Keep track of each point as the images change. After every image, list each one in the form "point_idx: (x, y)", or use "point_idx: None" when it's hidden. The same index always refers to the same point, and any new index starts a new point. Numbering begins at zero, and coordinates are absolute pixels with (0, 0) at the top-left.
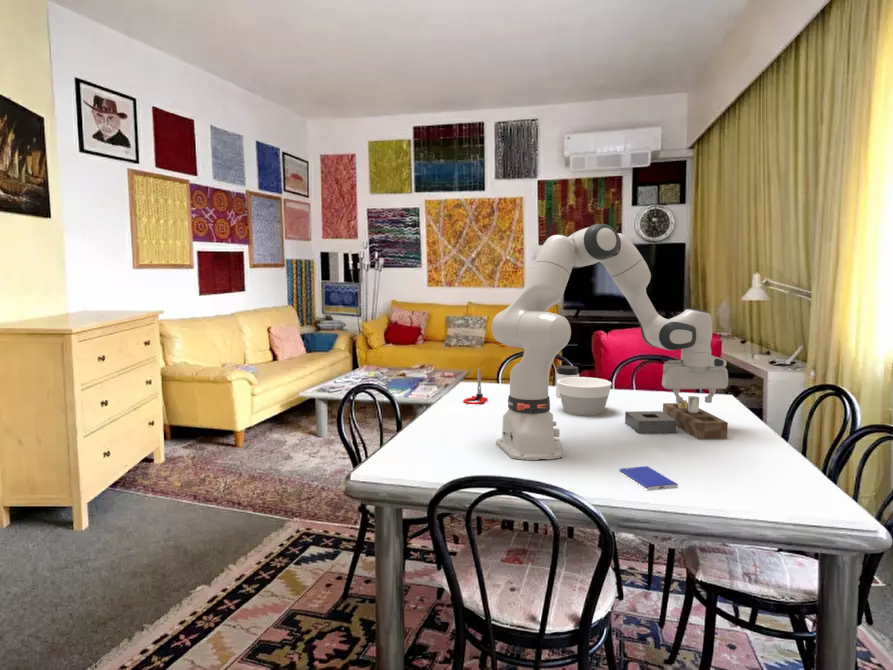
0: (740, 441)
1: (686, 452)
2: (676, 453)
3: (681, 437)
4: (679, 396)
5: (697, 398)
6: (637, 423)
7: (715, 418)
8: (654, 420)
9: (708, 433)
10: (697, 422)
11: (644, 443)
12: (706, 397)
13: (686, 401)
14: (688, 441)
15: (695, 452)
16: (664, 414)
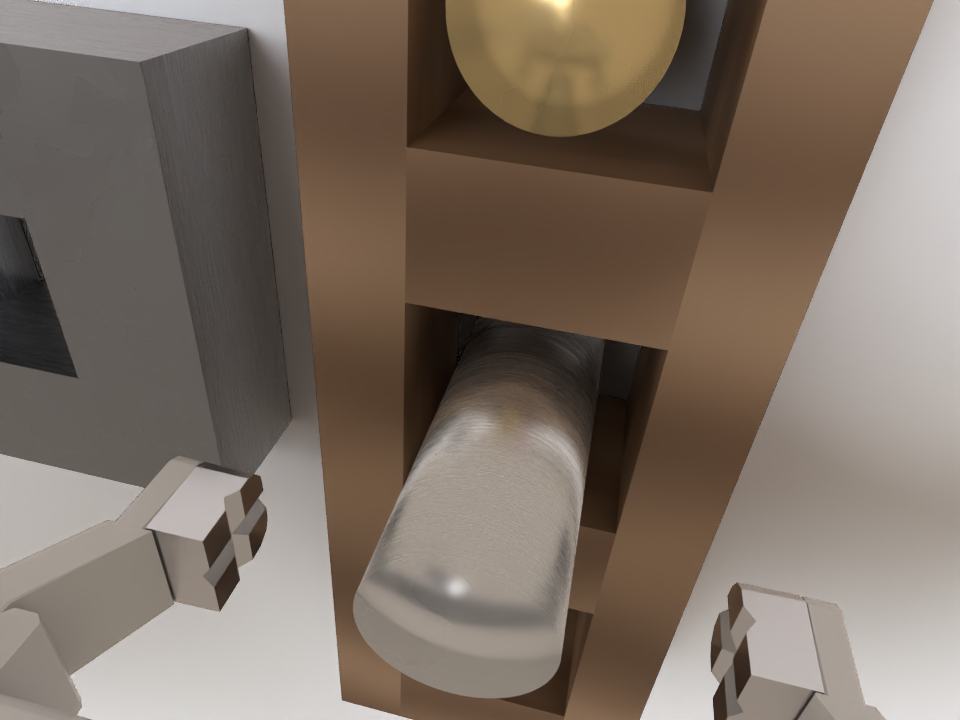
0: (681, 689)
1: (225, 687)
2: (171, 679)
3: (292, 514)
4: (140, 620)
5: (483, 689)
6: None
7: (606, 675)
8: (15, 452)
9: None
10: (342, 690)
11: (23, 533)
12: (739, 696)
13: (609, 123)
14: (307, 585)
15: (271, 701)
16: (152, 268)
